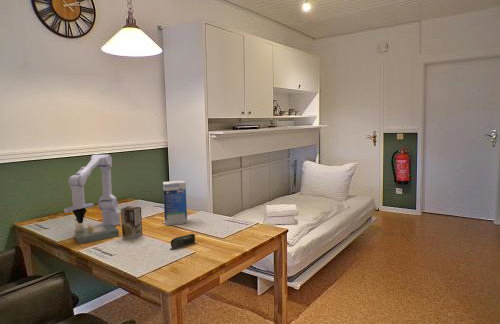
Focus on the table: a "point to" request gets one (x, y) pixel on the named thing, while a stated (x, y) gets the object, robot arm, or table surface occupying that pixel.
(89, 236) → the grey flat block
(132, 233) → the coffee box
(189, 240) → the mobile phone
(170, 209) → the string lights box
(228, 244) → the table surface
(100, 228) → the port cover
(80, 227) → the cream can
